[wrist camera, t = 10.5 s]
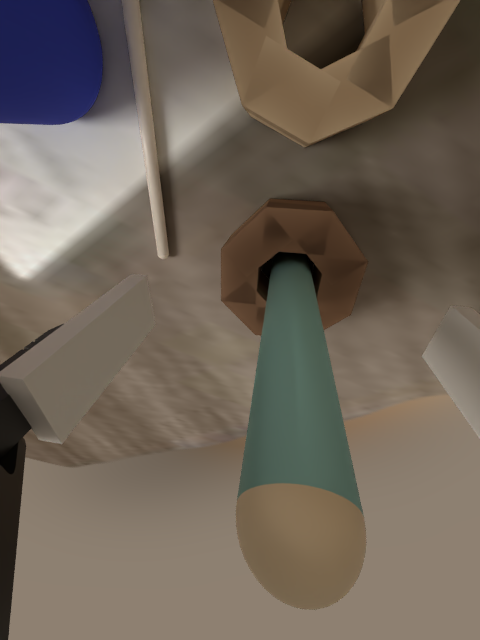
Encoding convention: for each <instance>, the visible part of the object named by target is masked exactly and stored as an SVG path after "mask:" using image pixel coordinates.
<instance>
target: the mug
mask: <svg viewBox="0 0 480 640" xmlns="http://www.w3.org/2000/svg"><path fill="white" fill-rule="evenodd" d="M102 72H103V57H102V48H101V42H100V38H99V34H98V30H97V26H96V23H95V19H94V16H93V14H92V11H91V8H90V6H89V3H88V1H87V0H0V123H12V124H43V125H60V124H65V123H69V122H72V121H75V120H77V119H79V118H80V117H82V116H83V115H85V114H86V113H87V112H88V111H89V110H90V108H91V107H92V106H93V104H94V102H95V100H96V98H97V96H98V93H99V90H100V86H101V81H102Z"/></svg>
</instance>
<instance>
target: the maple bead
mask: <svg viewBox="0 0 480 640" xmlns="http://www.w3.org/2000/svg"><path fill="white" fill-rule="evenodd" d="M291 1H292V0H213V3H214V7H215V10H216V14H217V17H218V21H219V25H220V28H221V32H222V35H223V39H224V42H225V46H226V50H227V53H228V57H229V60H230V64H231V67H232V71H233V75H234V78H235V82H236V85H237V89H238V92H239V96H240V100H241V103H242V106H243V107H244V108H245V110H246V111H247V112H248V113H249V115H250V116H251V117H252V118H254V119H256V120H257V121H259V122H261V123H263V124H264V125H266V126H268V127H270V128H271V129H273V130H275V131H277V132H278V133H280V134H282V135H284V136H285V137H287V138H289V139H291V140H292V141H294V142H296V143H297V144H299V145H301V146H303V147H304V148H305V147H307V146H309V145H312V144H314V143H316V142H319V141H321V140H324V139H326V138H328V137H331V136H333V135H335V134H338V133H340V132H342V131H345V130H347V129H349V128H352V127H354V126H356V125H359V124H361V123H363V122H366V121H368V120H370V119H372V118H374V117H376V116H378V115H380V114H382V113H384V112H386V111H388V110H391V109H393V107H394V106H395V104H396V103H397V101H398V99H399V98H400V96H401V95H402V93H403V91H404V90H405V88H406V87H407V85H408V83H409V82H410V80H411V79H412V77H413V75H414V74H415V72H416V71H417V69H418V67H419V66H420V64H421V63H422V61H423V59H424V58H425V56H426V55H427V53H428V51H429V50H430V48H431V47H432V45H433V43H434V42H435V40H436V39H437V37H438V35H439V34H440V32H441V31H442V29H443V27H444V26H445V24H446V23H447V21H448V19H449V18H450V16H451V15H452V13H453V11H454V10H455V8H456V7H457V5H458V3H459V2H460V0H362V8H363V20H364V31H365V35H364V36H363V38H362V40H361V42H360V44H359V46H358V48H357V50H356V52H354V53H352V54H350V55H348V56H346V57H344V58H342V59H340V60H338V61H336V62H334V63H332V64H331V65H329V66H327V67H325V68H323V69H319V68H318V67H316V66H314V65H313V64H311V63H310V62H308V61H306V60H305V59H303V58H301V57H300V56H298V55H297V54H295V53H293V52H292V51H290V50H288V49H287V45H286V40H285V35H284V30H283V23H284V20H285V17H286V14H287V12H288V9H289V6H290V4H291Z"/></svg>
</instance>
